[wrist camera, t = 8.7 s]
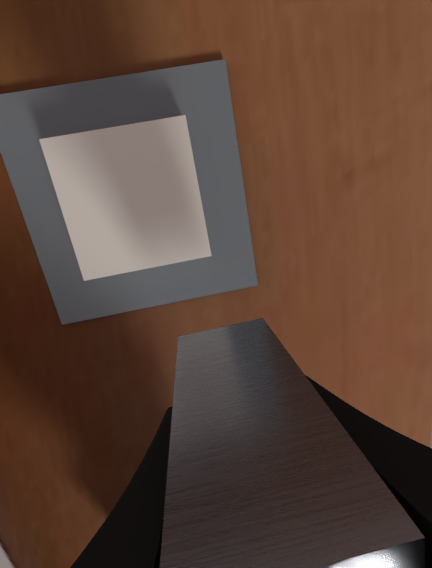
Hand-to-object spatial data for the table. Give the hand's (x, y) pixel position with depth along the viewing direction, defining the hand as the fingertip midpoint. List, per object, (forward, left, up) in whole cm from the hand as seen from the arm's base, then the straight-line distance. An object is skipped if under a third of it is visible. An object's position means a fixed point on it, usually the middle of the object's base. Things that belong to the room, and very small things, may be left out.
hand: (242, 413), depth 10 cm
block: (0, 0, -3) cm, 3 cm away
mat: (+4, +9, -10) cm, 14 cm away
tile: (+1, +6, -9) cm, 11 cm away
